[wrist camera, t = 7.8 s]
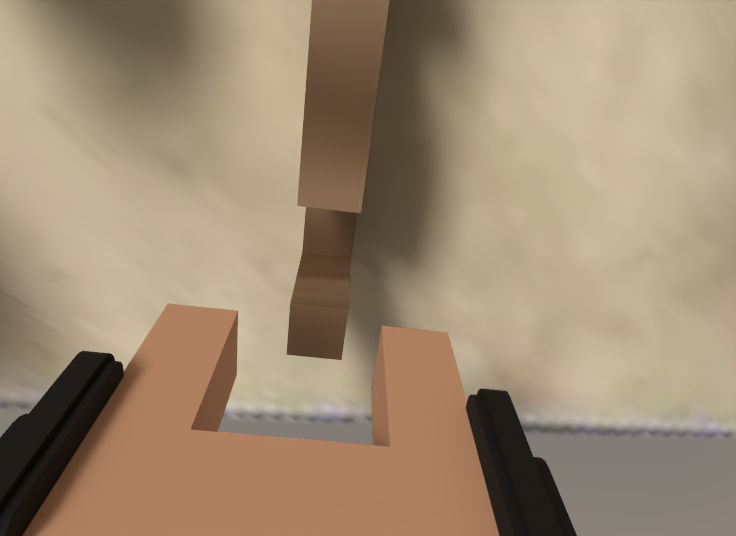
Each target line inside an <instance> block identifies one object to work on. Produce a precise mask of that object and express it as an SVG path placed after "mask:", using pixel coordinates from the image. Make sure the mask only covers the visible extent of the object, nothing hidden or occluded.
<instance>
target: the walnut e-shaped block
mask: <svg viewBox="0 0 736 536" xmlns="http://www.w3.org/2000/svg"><path fill="white" fill-rule="evenodd" d="M389 2H390V0H312V10H311V24H310V38H309V52H308V66H307V80H306V93H305V107H304V121H303V135H302V149H301V163H300V177H299V191H298V205H297V206H304V207H306V215H305V227H304V240H303V252H302V257H301V261H300V265H299V269H298V273H297V278H296V282H295V286H294V290H293V295H292V299H291V303H290V316H289V330H288V344H287V355H297V356H307V357H317V358H327V359H337V360H341V359H342V352H343V344H344V337H345V329H346V322H347V315H348V303H349V281H350V260H351V251H352V243H353V235H354V228H355V220H356V213H361V210H362V203H363V195H364V188H365V180H366V173H367V166H368V158H369V151H370V143H371V136H372V128H373V121H374V113H375V106H376V98H377V91H378V84H379V76H380V69H381V61H382V54H383V46H384V39H385V31H386V24H387V16H388V9H389Z"/></svg>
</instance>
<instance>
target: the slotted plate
mask: <svg viewBox="0 0 736 536" xmlns="http://www.w3.org/2000/svg"><path fill="white" fill-rule="evenodd" d="M237 330H238V311H235V310H225V309H215V308H205V307H196V306H186V305H176V304H167V306H166V307H165V309H164V310H163V312H162V313H161V315H160V317H159V318H158V320H157V321H156V323H155V324H154V326H153V327H152V329H151V330H150V332H149V334H148V335H147V337H146V338H145V340H144V341H143V343H142V344H141V346H140V347H139V349H138V351H137V352H136V354H135V355H134V357H133V358H132V360H131V361H130V363H129V364H128V366H127V368H126V369H125V371H124V377H123V379H122V380H121V382H120V383H119V385H118V386H117V388H116V390H115V391H114V393H113V394H112V396H111V397H110V399H109V401H108V402H107V404H106V405H105V407H104V408H103V410H102V412H101V413H100V415H99V416H98V418H97V419H96V421H95V423H94V424H93V426H92V427H91V429H90V430H89V432H88V434H87V435H86V437H85V438H84V440H83V441H82V443H81V445H80V446H79V448H78V449H77V451H76V452H75V454H74V456H73V457H72V459H71V460H70V462H69V463H68V465H67V467H66V468H65V470H64V471H63V473H62V474H61V476H60V478H59V479H58V481H57V482H56V484H55V485H54V487H53V489H52V490H51V492H50V493H49V495H48V496H47V498H46V500H45V501H44V503H43V504H42V506H41V507H40V509H39V511H38V512H37V514H36V515H35V517H34V518H33V520H32V522H31V523H30V525H29V526H28V528H27V529H26V531H25V533H24V534H23V536H499V532H498V529H497V525H496V521H495V517H494V514H493V510H492V506H491V502H490V498H489V495H488V491H487V487H486V483H485V479H484V476H483V472H482V468H481V464H480V461H479V457H478V453H477V449H476V445H475V442H474V438H473V434H472V430H471V426H470V423H469V419H468V415H467V411H466V404H467V402H466V398H465V394H464V390H463V387H462V383H461V379H460V376H459V372H458V368H457V365H456V361H455V357H454V354H453V350H452V346H451V343H450V339H449V335H448V332H438V331H429V330H419V329H409V328H400V327H390V326H382V327H381V333H380V339H379V345H378V351H377V357H376V362H375V368H374V374H373V380H372V386H371V397H372V430H373V445H364V444H352V443H339V442H328V441H317V440H305V439H294V438H281V437H271V436H259V435H248V434H236V433H224V432H218V429H219V426H220V423H221V420H222V417H223V414H224V411H225V408H226V405H227V402H228V399H229V396H230V393H231V390H232V387H233V384H234V381H235V378H236V375H237Z"/></svg>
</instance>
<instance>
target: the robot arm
mask: <svg viewBox="0 0 736 536" xmlns="http://www.w3.org/2000/svg"><path fill="white" fill-rule="evenodd" d="M123 377H124V371H123V365H122V363H121V362H118V361H115V359H114V356H113V355H112V354H110V353H99V352H89V351H82V352H79V353H78V354H77V355H76V356H75V358H74V359H73V360H72V361H71V363H70V364H69V365H68V366H67V368H66V369H65V370H64V371H63V372H62V374H61V375H60V376H59V377H58V379H57V380H56V381H55V382H54V383H53V385H52V386H51V387H50V388H49V390H48V391H47V392H46V393H45V395H44V396H43V397H42V398H41V399H40V401H39V402H38V403H37V404H36V406H35V407H34V408H33V409H32V411H31V412H30V413H29V414H24V415H22V416H20V417H18V418H17V419H16V421H14V422H13V423H12V424H11V426H10V427H9V428H8V429H7V430H6V432H5V433H4V434H3V435H2V436H1V437H0V536H23V534H24V533H25V531H26V529H27V528H28V526H29V525H30V523H31V522H32V520H33V518H34V517H35V515H36V514H37V512H38V511H39V509H40V507H41V506H42V504H43V503H44V501H45V500H46V498H47V496H48V495H49V493H50V492H51V490H52V489H53V487H54V485H55V484H56V482H57V481H58V479H59V478H60V476H61V474H62V473H63V471H64V470H65V468H66V467H67V465H68V463H69V462H70V460H71V459H72V457H73V456H74V454H75V452H76V451H77V449H78V448H79V446H80V445H81V443H82V441H83V440H84V438H85V437H86V435H87V434H88V432H89V430H90V429H91V427H92V426H93V424H94V423H95V421H96V419H97V418H98V416H99V415H100V413H101V412H102V410H103V408H104V407H105V405H106V404H107V402H108V401H109V399H110V397H111V396H112V394H113V393H114V391H115V390H116V388H117V386H118V385H119V383H120V382H121V380H122V379H123ZM466 411H467V415H468V419H469V423H470V426H471V430H472V434H473V438H474V442H475V445H476V449H477V453H478V457H479V461H480V464H481V468H482V472H483V476H484V479H485V483H486V487H487V491H488V495H489V498H490V502H491V506H492V510H493V514H494V517H495V521H496V525H497V529H498V532H499V536H577V535H576V533H575V530H574V528H573V526H572V523H571V520H570V518H569V516H568V513H567V511H566V508H565V506H564V504H563V501H562V499H561V496H560V494H559V491H558V489H557V486H556V484H555V482H554V479H553V477H552V475H551V472H550V469H549V467H548V466H547V464H546V462H545V461H544V460H543V459H542V458H538V457H533V455H532V452H531V450H530V447H529V445H528V442H527V439H526V437H525V434H524V432H523V429H522V426H521V424H520V421H519V419H518V416H517V413H516V411H515V408H514V406H513V403H512V401H511V398H510V396H509V394H508V392H506V391H501V390H490V389H479V391H478V393H477V395H470V396H469V398H468V401H467V404H466Z"/></svg>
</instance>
